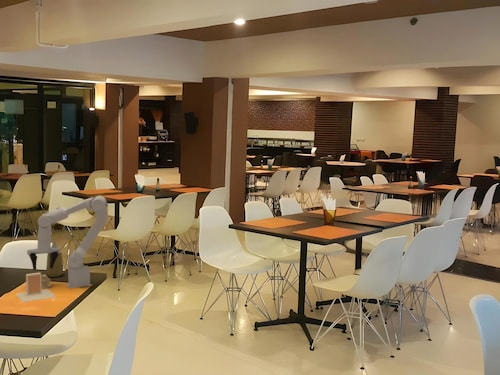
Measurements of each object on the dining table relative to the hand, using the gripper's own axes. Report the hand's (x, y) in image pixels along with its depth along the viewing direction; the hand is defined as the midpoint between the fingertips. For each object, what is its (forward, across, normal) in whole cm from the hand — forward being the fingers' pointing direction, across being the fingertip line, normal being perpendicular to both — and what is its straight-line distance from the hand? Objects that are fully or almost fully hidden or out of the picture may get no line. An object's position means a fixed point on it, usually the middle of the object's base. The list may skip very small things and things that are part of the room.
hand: (43, 268), depth 259 cm
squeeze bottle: (+9, -11, -15) cm, 21 cm away
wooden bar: (+9, -1, 0) cm, 9 cm away
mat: (+9, +7, +13) cm, 17 cm away
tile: (+8, +7, +10) cm, 14 cm away
